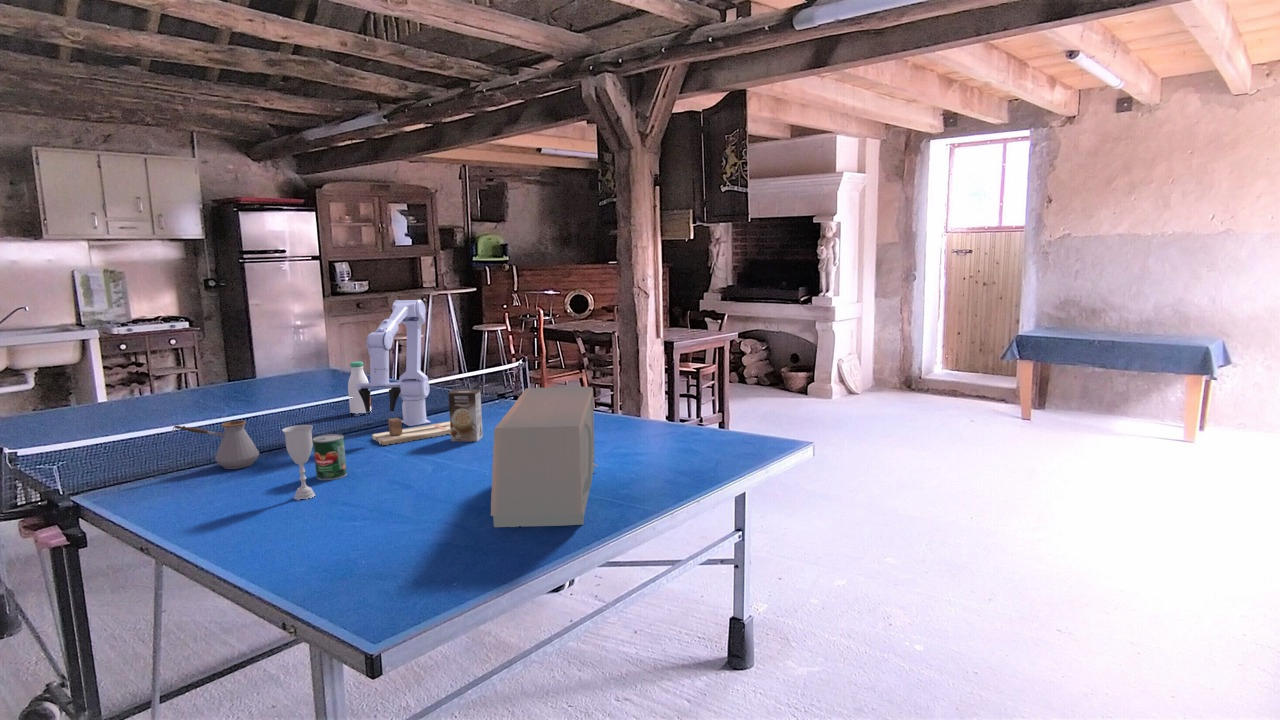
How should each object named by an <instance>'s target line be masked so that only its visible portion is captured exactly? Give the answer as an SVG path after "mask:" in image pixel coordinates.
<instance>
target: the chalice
mask: <svg viewBox="0 0 1280 720" xmlns="http://www.w3.org/2000/svg"><path fill="white" fill-rule="evenodd" d="M313 428H314V426H313V425H312V424H298V425H291V426H287V427H284V428H283V429H281V430H282V432H283V434H284V439H285V447H286V448H285V449H286V451H287V453H288V455H289V457H290V458H291V459H292V461H293V462H294V463H295V465H296V464H297V465H298V466H299V471H298V473H299V475H300V477H299V478H298V480H299V481H300V483H301V485H300V486H299V487H298V488H297V489H296V492H295V493H294V497H293V499H294V500H295V499H298V500H297V501H301V500H300V499H306V500H309V499H308V498H310V499H312V497H313V498H315V497H316V493H315V492H314V490H313V488H312V487H310V486H308V485H307V484H306V479H307V477H306V475H305V473H306V469H305V464H306V463H307V462H308V461H309V459H310V456H311V454H312V450H313V447H314V446H313V435H312V430H313ZM314 496H315V497H314Z"/></svg>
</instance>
